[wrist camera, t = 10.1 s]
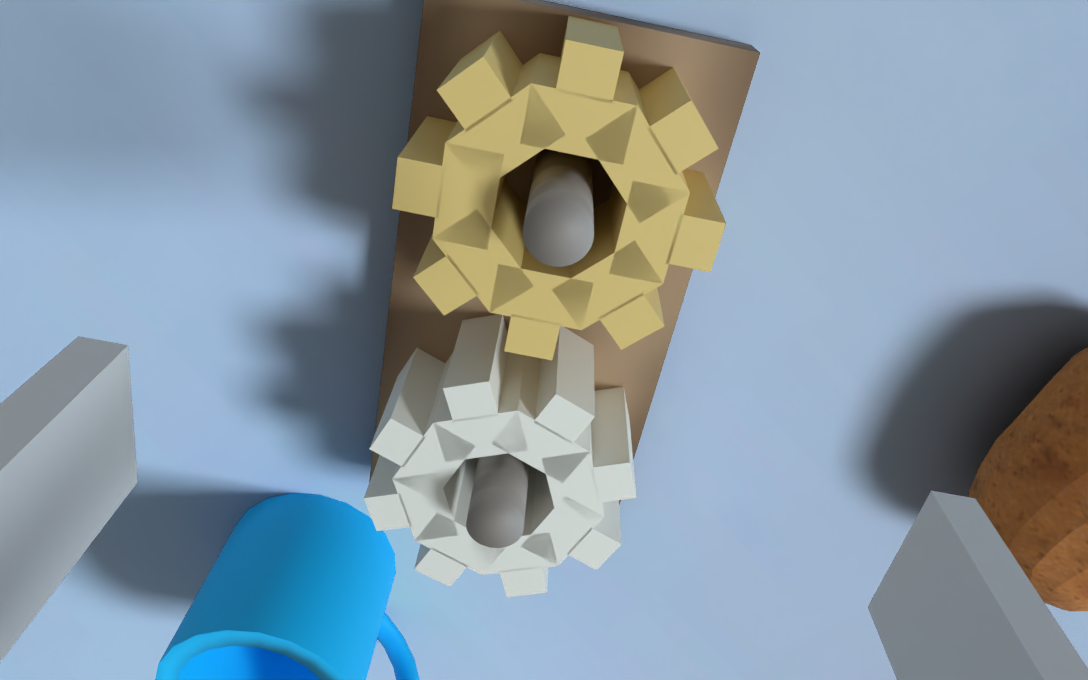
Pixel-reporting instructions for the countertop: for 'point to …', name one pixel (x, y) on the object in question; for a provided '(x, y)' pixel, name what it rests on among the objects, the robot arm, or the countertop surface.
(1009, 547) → the potato
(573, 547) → the cream gear
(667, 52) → the walnut board
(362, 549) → the mug
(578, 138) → the ochre gear
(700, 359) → the countertop surface
